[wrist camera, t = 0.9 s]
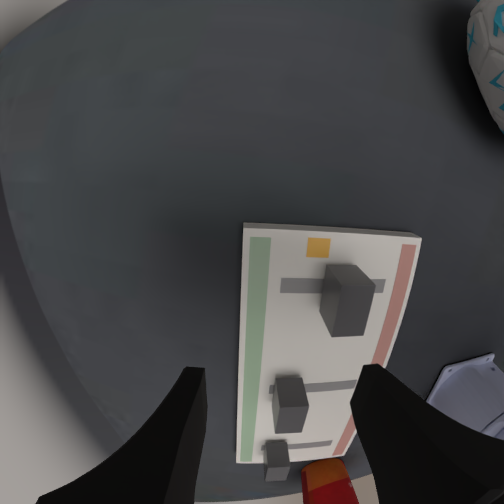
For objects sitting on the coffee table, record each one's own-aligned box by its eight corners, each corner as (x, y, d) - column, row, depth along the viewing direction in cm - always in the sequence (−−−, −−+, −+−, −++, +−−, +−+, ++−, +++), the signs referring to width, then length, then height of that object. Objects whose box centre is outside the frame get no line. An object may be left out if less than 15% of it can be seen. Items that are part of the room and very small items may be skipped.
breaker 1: (302, 377, 20) (309, 406, 17) (296, 404, 21) (301, 432, 18) (275, 378, 20) (279, 407, 17) (271, 405, 21) (274, 433, 18)
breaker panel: (411, 232, 18) (422, 238, 17) (341, 445, 26) (344, 455, 25) (243, 222, 18) (243, 228, 16) (236, 452, 26) (236, 463, 24)
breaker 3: (356, 265, 17) (376, 285, 14) (347, 310, 18) (363, 335, 15) (326, 264, 17) (341, 285, 14) (318, 311, 18) (331, 337, 15)
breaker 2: (286, 441, 22) (290, 466, 20) (282, 457, 23) (285, 480, 21) (265, 442, 22) (267, 467, 19) (263, 458, 23) (264, 481, 20)
